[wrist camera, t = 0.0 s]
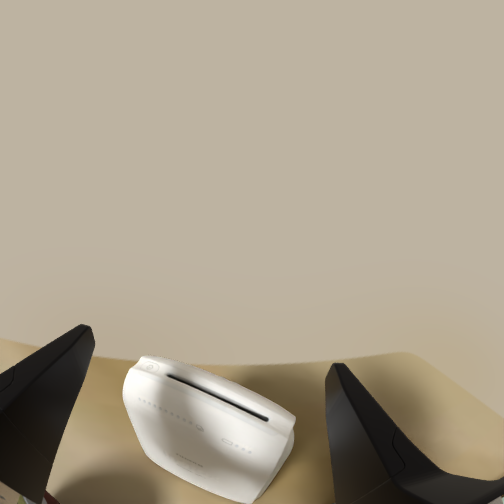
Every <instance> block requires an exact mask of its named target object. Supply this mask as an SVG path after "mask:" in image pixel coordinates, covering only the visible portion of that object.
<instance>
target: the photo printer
mask: <svg viewBox="0 0 504 504" xmlns="http://www.w3.org/2000/svg"><path fill="white" fill-rule="evenodd" d="M123 401H124V404H125V406H126V409H127V412H128V415H129V417H130V420H131V422H132V425H133V427H134V430H135V432H136V434H137V437H138V439H139V441H140V443H141V446H142V448H143V450H144V452H145V454H146V455H147V456H148V457H149V458H150V459H151V460H152V461H153V462H155V463H156V464H157V465H159V466H161V467H162V468H164V469H165V470H167V471H169V472H171V473H172V474H174V475H176V476H178V477H180V478H182V479H184V480H186V481H188V482H190V483H192V484H194V485H196V486H198V487H200V488H202V489H205V490H207V491H209V492H212V493H214V494H217V495H219V496H222V497H225V498H228V499H230V500H233V501H237V502H241V503H246V504H252V503H253V501H254V500H256V499H258V498H259V497H260V496H261V495H262V494H263V493H264V491H265V490H266V489H267V487H268V486H269V484H270V483H271V482H272V480H273V479H274V477H275V476H276V474H277V473H278V471H279V470H280V468H281V467H282V465H283V464H284V462H285V460H286V459H287V457H288V456H289V454H290V452H291V450H292V448H293V444H294V431H293V426H294V424H295V421H296V417H295V416H294V415H292V414H291V413H290V412H288V411H287V410H285V409H284V408H282V407H281V406H279V405H278V404H276V403H274V402H272V401H271V400H269V399H267V398H265V397H263V396H261V395H259V394H257V393H255V392H253V391H251V390H249V389H247V388H245V387H243V386H241V385H239V384H238V383H236V382H232V381H229V380H227V379H226V378H224V377H220V376H217V375H215V374H213V373H210V372H208V371H206V370H203V369H200V368H198V367H195V366H192V365H189V364H186V363H183V362H180V361H176V360H172V359H169V358H165V357H159V356H150V355H145V356H142V357H141V358H140V360H139V361H138V363H137V364H136V365H135V366H133V367H132V368H130V370H129V372H128V374H127V376H126V379H125V382H124V386H123Z"/></svg>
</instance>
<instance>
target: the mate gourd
mask: <svg viewBox="0 0 504 504" xmlns="http://www.w3.org/2000/svg"><path fill="white" fill-rule="evenodd" d="M18 504H36V503H34V502H32V501H30V500H29V499H27V498H25V497H24V496H22V495H20V496H19V499H18ZM42 504H60V503H59V502H58V501H57V500H56V499H55V498H54V497H52V496H51V495H50V494H49V493H48V492H47V491H46V490H45V493H44V497H43V501H42Z"/></svg>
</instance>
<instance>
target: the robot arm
mask: <svg viewBox="0 0 504 504" xmlns="http://www.w3.org/2000/svg"><path fill="white" fill-rule="evenodd" d="M94 348H95V340H94V336H93V332H92V329H91V327H90V326H87V325H84V324H80V325H78V326H77V327H75V328H74V329H72V330H70V331H68V332H67V333H65V334H64V335H62V336H60V337H59V338H57V339H55V340H54V341H52V342H51V343H49V344H47V345H46V346H44V347H43V348H41V349H39V350H38V351H36V352H35V353H33V354H31V355H30V356H28V357H27V358H25V359H23V360H22V361H20V362H19V363H17V364H16V365H15V366H12V367H11V368H9V369H8V370H6V371H4V372H3V373H1V374H0V504H18V499H19V496H20V495H22V496H24V497H25V498H27V499H29V500H30V501H32V502H34V503H36V504H42V501H43V497H44V493H45V490H46V486H47V483H48V479H49V476H50V472H51V469H52V466H53V462H54V459H55V456H56V453H57V450H58V447H59V444H60V441H61V438H62V436H63V433H64V430H65V427H66V425H67V422H68V419H69V417H70V414H71V411H72V409H73V406H74V404H75V401H76V399H77V396H78V394H79V392H80V389H81V387H82V384H83V382H84V379H85V376H86V373H87V370H88V367H89V363H90V360H91V357H92V354H93V351H94ZM325 396H326V423H327V431H328V438H329V447H330V455H331V464H332V473H333V483H334V493H335V504H503V501H502V498H501V496H502V495H503V494H504V477H502V478H500V479H498V480H494V481H487V480H480V479H474V478H468V477H463V476H458V475H453V474H449V473H447V472H445V471H443V470H441V469H440V468H439V467H437V466H436V465H435V464H434V463H433V462H432V461H431V460H430V459H429V458H428V457H427V456H425V455H424V454H423V453H422V452H421V451H420V450H419V449H418V448H417V447H416V446H415V445H414V444H413V443H412V442H411V441H410V440H409V439H408V438H407V437H406V435H405V434H404V433H403V432H402V431H401V430H400V429H399V427H397V425H396V424H395V423H394V422H393V420H392V419H391V418H390V417H389V416H388V414H387V413H386V412H385V411H384V410H383V409H382V407H381V406H380V405H379V404H378V403H377V401H376V400H375V399H374V398H373V397H372V396H371V394H370V393H369V392H368V391H367V390H366V388H365V387H364V386H363V385H362V384H361V383H360V381H359V380H358V379H357V378H356V377H355V375H354V374H353V373H352V372H351V371H350V370H349V368H348V367H347V366H346V365H345V364H344V363H333V364H332V366H331V368H330V370H329V372H328V374H327V376H326V379H325Z"/></svg>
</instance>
